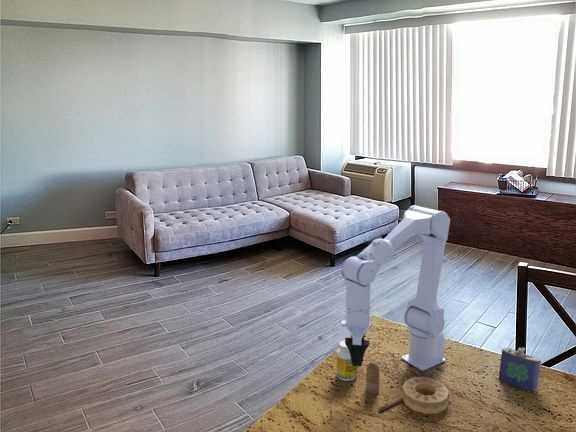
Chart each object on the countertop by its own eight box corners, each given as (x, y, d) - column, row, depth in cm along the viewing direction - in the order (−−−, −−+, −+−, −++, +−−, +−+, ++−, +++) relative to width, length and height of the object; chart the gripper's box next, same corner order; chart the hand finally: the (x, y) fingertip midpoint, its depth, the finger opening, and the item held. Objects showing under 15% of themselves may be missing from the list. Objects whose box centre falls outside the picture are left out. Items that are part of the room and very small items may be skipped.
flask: (538, 389, 126) (542, 351, 123) (535, 395, 124) (539, 356, 121) (500, 377, 132) (504, 340, 129) (496, 382, 129) (500, 344, 127)
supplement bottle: (347, 368, 137) (348, 336, 134) (361, 377, 132) (361, 344, 130) (332, 374, 134) (332, 342, 131) (345, 384, 130) (345, 350, 127)
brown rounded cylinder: (372, 386, 128) (373, 357, 126) (381, 392, 126) (382, 363, 124) (363, 390, 127) (364, 361, 125) (372, 396, 124) (372, 366, 122)
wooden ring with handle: (423, 382, 129) (423, 372, 129) (456, 403, 121) (457, 392, 120) (372, 406, 120) (372, 395, 119) (404, 430, 112) (404, 419, 111)
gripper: (342, 293, 127) (342, 341, 131) (339, 319, 113) (339, 372, 117) (370, 294, 126) (369, 342, 130) (370, 320, 112) (369, 374, 116)
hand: (357, 356), depth 123 cm, fingers open, 7 cm apart
